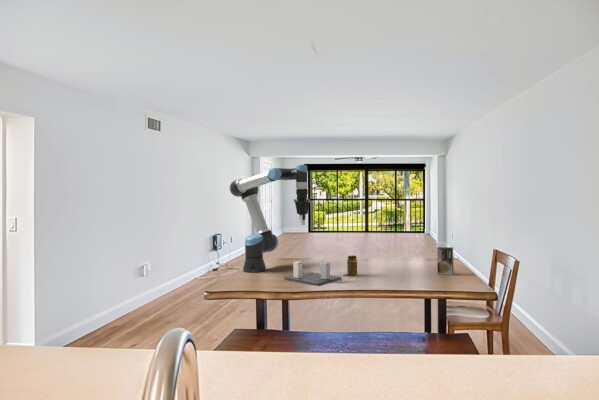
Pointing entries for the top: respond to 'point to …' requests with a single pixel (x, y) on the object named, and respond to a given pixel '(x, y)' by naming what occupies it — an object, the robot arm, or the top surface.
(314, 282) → the dark grey flat board
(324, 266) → the block
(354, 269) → the condiment
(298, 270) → the block
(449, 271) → the coffee box
